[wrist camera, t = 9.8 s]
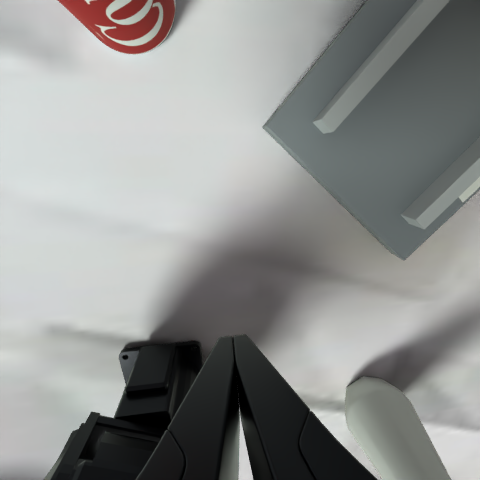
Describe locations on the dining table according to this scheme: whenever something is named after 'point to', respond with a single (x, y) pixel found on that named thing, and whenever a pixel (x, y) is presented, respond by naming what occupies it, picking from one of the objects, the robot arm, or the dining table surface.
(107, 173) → the dining table surface
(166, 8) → the soda can
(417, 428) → the salt shaker
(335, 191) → the switch board
